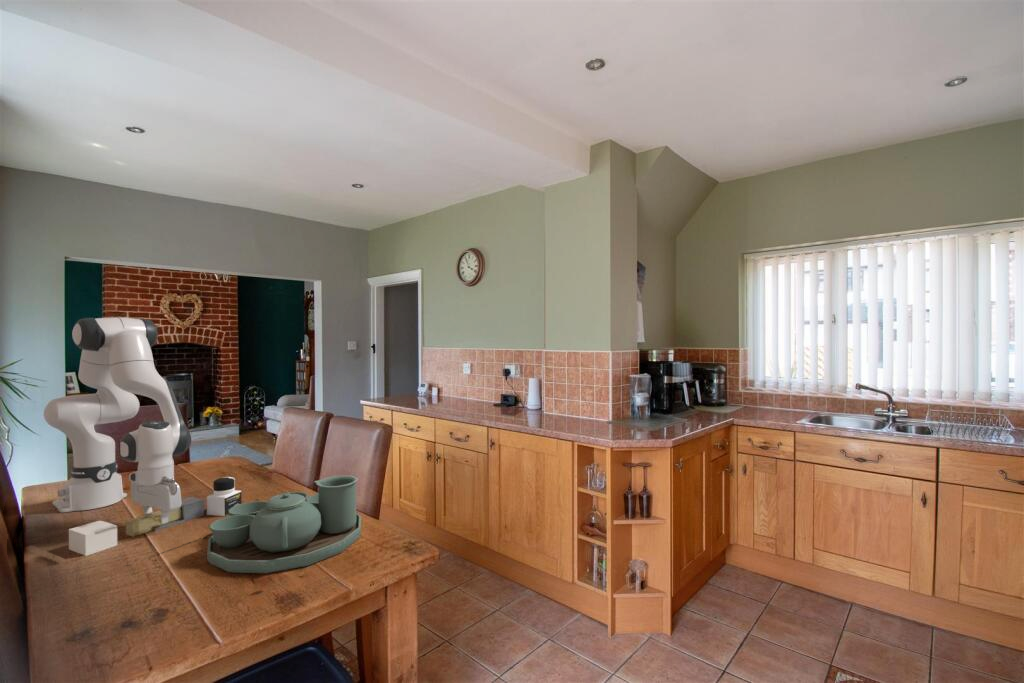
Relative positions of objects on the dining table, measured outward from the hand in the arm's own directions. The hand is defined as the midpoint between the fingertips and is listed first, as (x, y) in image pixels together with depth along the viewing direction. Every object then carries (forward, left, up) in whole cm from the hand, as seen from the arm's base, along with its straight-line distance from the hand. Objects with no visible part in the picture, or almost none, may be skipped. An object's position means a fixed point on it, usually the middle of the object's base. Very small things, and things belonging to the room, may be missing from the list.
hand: (156, 520), depth 143 cm
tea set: (+43, +12, -4) cm, 45 cm away
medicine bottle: (+6, +17, -3) cm, 18 cm away
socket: (0, -16, -3) cm, 16 cm away
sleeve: (0, +5, -3) cm, 6 cm away
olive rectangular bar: (0, +1, -2) cm, 2 cm away
